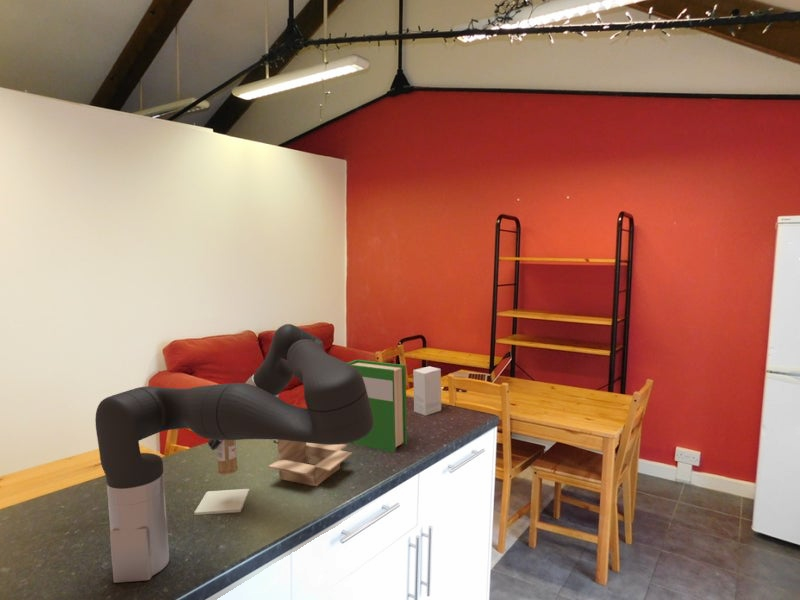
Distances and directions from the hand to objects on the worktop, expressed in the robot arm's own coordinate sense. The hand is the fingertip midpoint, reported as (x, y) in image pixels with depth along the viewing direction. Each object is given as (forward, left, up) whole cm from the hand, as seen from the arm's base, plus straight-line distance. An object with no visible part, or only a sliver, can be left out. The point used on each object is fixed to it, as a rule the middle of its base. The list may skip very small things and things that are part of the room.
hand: (219, 442), depth 117 cm
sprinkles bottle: (-1, -2, -7) cm, 7 cm away
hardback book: (+31, -37, -14) cm, 51 cm away
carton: (+11, -21, -14) cm, 28 cm away
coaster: (-1, 0, -14) cm, 14 cm away
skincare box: (+58, -57, -14) cm, 83 cm away
